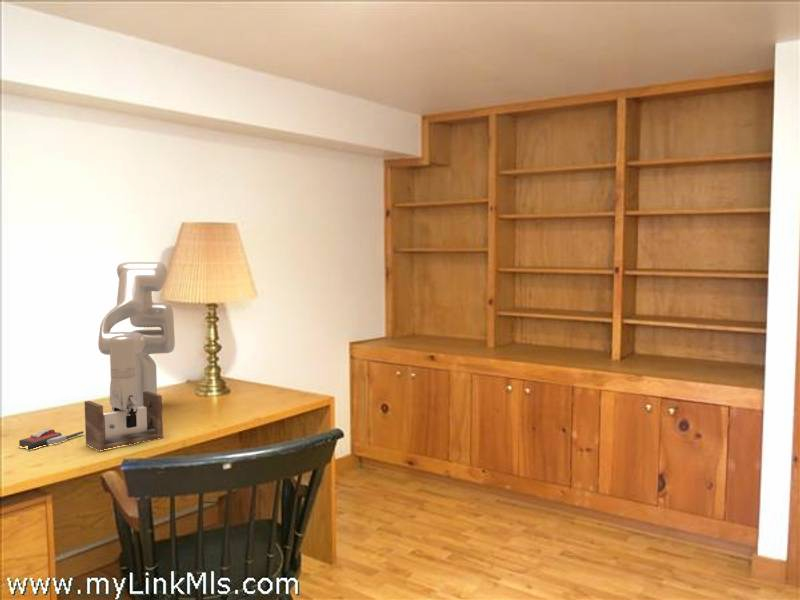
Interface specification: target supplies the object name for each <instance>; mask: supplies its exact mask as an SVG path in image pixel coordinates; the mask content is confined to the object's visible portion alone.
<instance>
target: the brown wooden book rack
mask: <svg viewBox="0 0 800 600" xmlns="http://www.w3.org/2000/svg"><path fill="white" fill-rule="evenodd" d="M162 397H163V395H161V394H158V393H157V394H155V393H152V392H149V391H145V392H143V406H144V407H146V408H147V430H146V431H141V432H136V433H131V434H127V435H122V436H117V437H112V438H107V439H104V422H103V413H104V405H102V404H99V403H96V402H94V401H91V400H85V401H84V423H85V425H84V426H85V445H86V444H87V445H89V446H91V447H93V448H95V449H97V450H99V451H100V450H104V449H108V448H113V447H117V446H122V445H129V444H134V443H137V442H143V441H147V442H149V441H148V440H152V441H154V440H153V439H156V440H159V439H158V438H161V439H163V438H164V433H163V432H164V431H163V430H164V429H163V398H162ZM143 443H144V442H143ZM134 445H135V444H134ZM129 446H130V445H129Z"/></svg>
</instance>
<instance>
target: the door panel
mask: <svg viewBox="0 0 800 600" xmlns="http://www.w3.org/2000/svg"><path fill="white" fill-rule="evenodd" d="M130 410H131V409H129V412H130ZM126 416H127V413H126V410H125V408H124V410H119V411H114V410H112V411H108V412H103V422H104V439H107V438H112V437H117V436H122V435H127V434H131V433H136V432H141V431H146V430H147V408H146V407H144V406H141V407H137V415H136V420H137V426H136V427H132V428H127V427H126Z"/></svg>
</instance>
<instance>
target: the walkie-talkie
mask: <svg viewBox="0 0 800 600" xmlns="http://www.w3.org/2000/svg"><path fill="white" fill-rule="evenodd" d="M82 434H84V431H83V430H81V431H78V432H76V433H72V434H69V435H62V433H61V432H57V431H55V429H53V428H51V429H50V428H46V429H43V430H39V431H37V433H36V434H30V436H29V437H26V438H23V439H20V440H19V442H18V443H19V444H18V445H19V446H22V447H25V446H28V449H33V448H36V447H39V446H43V445H49V444H54V443H59V442H62V441H65V440H66V439H67V440H69V439H71V438H74V437H77V436H79V435H82ZM67 440H66V441H67Z"/></svg>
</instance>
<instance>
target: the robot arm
mask: <svg viewBox="0 0 800 600" xmlns="http://www.w3.org/2000/svg"><path fill="white" fill-rule="evenodd" d="M116 272H117V277H118V288H117V297H116V306H114V307H113V308H112V309H110V310H109V312H107V314H106V315H105V316H104V317H103V319H102V320H101V323H100V326H99V332H98V333H99V334H98V349H99V352H100V353H101V354H102V355H106V356H108V355H109V364H110V382H109V383H110V384H109V404H110V406H111V410H112V411H119V410H124V409H125V410H126V413H127V416H126V427H127V428H132V427H136V426H137V420H136V415H137V407H141V406H143V392H145V391H149V392H152V393H155V394H158V382H157V379H158V377H157V363H156V362H155V360H154V358H152V357H151V356H150V355H153V354H154V355H155V354H157V355H158V354H159V355H160V354H170V353H172V352H173V351H174V349H175V347H176V346H175V345H176V341H175V338H176V337H175V323H174V322H175V320H174V319H175V318H174V311H173V308H172V306H171V304H170V303H167V302H154V301H153V294H152V293H153V292H160V291H161V290H163V287H164V285H165V284H166V281H167V277H168V271H167V267H166V265H165V264H164V263H163V262H156V261H153V262H152V261H151V262H149V261H148V262H147V261H145V262H142V261H139V262H138V261H136V262H135V261H129V262H122V263H120V264H118V265H117V268H116ZM127 319H129V321H130V322H129V323H130V324H131V325H132V326H133V327H135V328H160V329H136V330H133V331H120V332H119V331H115V332H113V331H112V328H113V327H114V326H115V325H117V324H118V323H120V322H123V321H125V320H127ZM111 331H112V332H111ZM129 409H131V410H130V412H129Z"/></svg>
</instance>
